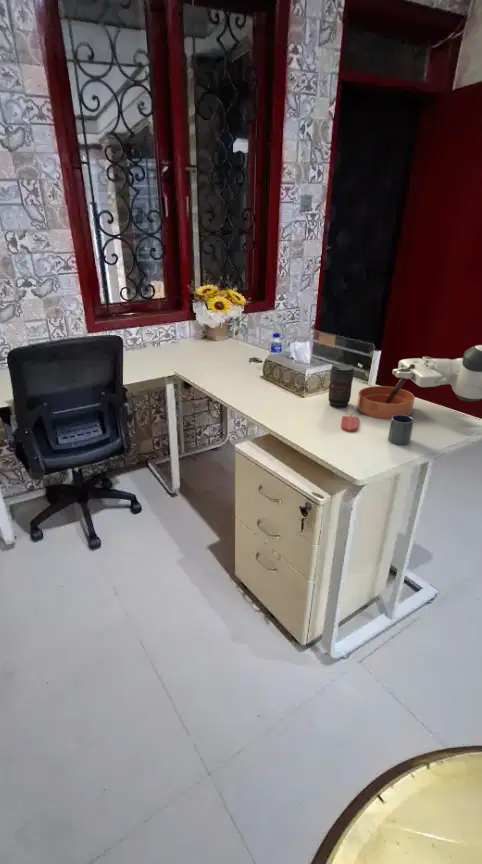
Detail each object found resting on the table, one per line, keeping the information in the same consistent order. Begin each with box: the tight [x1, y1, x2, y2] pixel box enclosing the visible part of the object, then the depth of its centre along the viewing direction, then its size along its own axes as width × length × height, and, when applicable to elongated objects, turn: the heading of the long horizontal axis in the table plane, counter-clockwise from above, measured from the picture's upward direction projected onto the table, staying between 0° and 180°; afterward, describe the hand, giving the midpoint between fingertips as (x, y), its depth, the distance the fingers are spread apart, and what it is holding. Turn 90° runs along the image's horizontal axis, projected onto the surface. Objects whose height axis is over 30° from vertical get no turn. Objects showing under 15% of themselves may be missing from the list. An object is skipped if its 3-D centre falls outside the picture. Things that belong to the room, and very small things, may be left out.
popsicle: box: [340, 412, 360, 433], centre depth 141 cm, size 5×2×15 cm
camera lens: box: [328, 363, 355, 409], centre depth 153 cm, size 8×8×15 cm
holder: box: [387, 415, 415, 446], centre depth 126 cm, size 6×6×8 cm
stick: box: [385, 364, 415, 404], centre depth 145 cm, size 2×2×16 cm
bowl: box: [356, 385, 416, 420], centre depth 149 cm, size 18×18×6 cm
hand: (394, 373), depth 144 cm, fingers closed on stick, 1 cm apart
